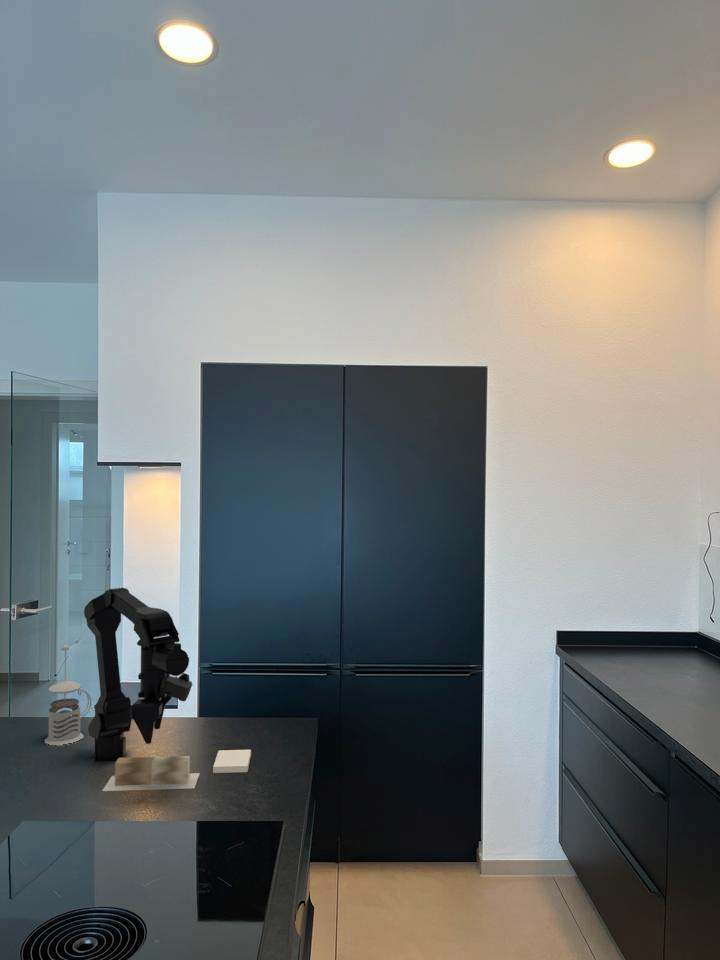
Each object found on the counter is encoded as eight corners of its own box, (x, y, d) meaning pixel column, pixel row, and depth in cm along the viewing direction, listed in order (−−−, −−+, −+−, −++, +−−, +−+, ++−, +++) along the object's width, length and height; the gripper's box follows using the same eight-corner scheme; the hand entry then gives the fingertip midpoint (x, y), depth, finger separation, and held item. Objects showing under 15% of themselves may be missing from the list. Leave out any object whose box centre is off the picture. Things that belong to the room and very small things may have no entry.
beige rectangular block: (114, 785, 152) (115, 763, 152) (118, 779, 155) (118, 757, 155) (187, 783, 154) (187, 761, 154) (189, 777, 157) (189, 755, 157)
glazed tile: (213, 766, 159) (247, 765, 160) (218, 750, 169) (251, 749, 170) (213, 777, 159) (247, 776, 160) (218, 760, 169) (250, 759, 170)
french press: (39, 737, 183) (40, 644, 183) (83, 728, 190) (84, 638, 191) (50, 748, 175) (51, 651, 176) (96, 738, 183) (97, 645, 183)
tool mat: (102, 793, 150) (102, 790, 150) (112, 778, 158) (112, 775, 158) (194, 790, 151) (194, 788, 151) (199, 775, 159) (199, 773, 159)
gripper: (182, 678, 146) (181, 750, 146) (196, 656, 165) (195, 721, 165) (129, 678, 145) (128, 752, 145) (149, 657, 164) (148, 722, 164)
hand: (153, 736), depth 155 cm, fingers open, 9 cm apart
